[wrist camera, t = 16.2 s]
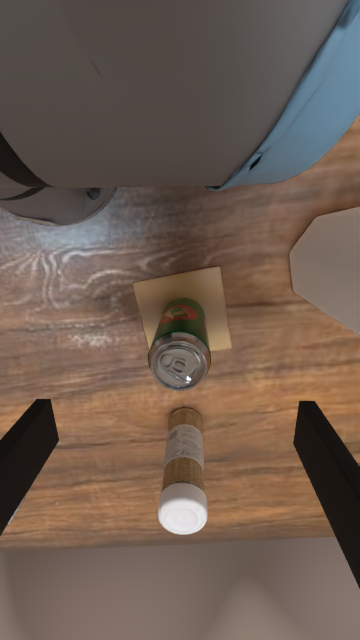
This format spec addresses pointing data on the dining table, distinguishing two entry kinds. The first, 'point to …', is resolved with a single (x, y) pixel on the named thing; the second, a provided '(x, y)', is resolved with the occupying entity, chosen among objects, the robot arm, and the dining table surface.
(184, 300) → the green can
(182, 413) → the sprinkles bottle
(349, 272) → the cup
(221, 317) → the coaster
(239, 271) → the dining table surface
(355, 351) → the dining table surface
